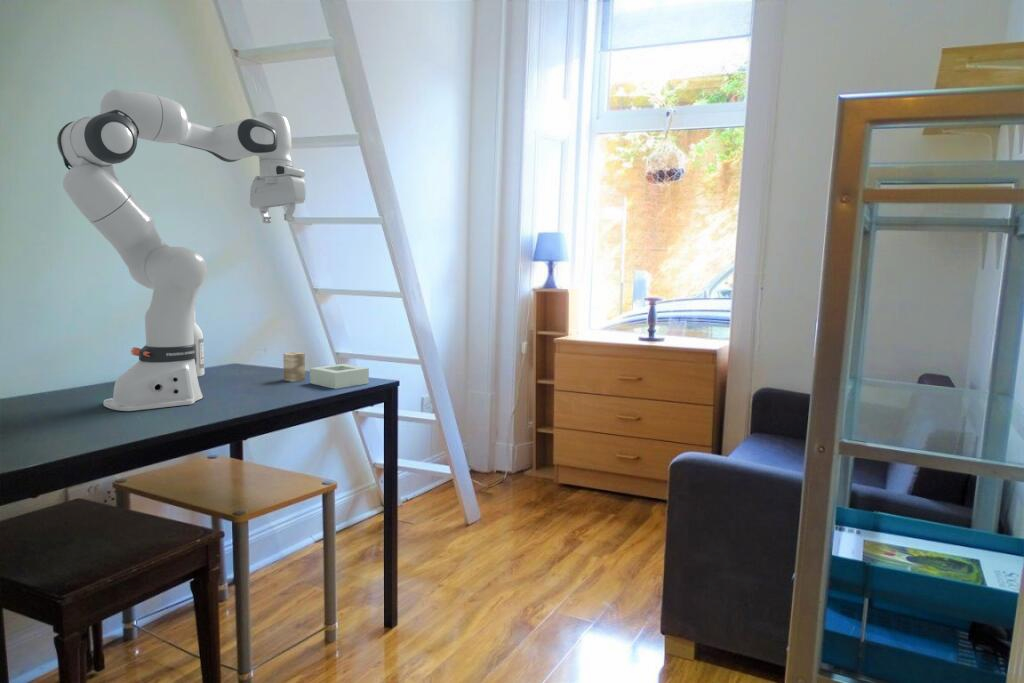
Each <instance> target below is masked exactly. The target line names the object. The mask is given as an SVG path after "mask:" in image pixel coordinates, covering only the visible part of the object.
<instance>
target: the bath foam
mask: <svg viewBox="0 0 1024 683" xmlns="http://www.w3.org/2000/svg"><path fill="white" fill-rule="evenodd" d="M193 325H194V344H196V354H197V361H196V372H197V378H199V377H203V376H205V349H204V348H205V347H204V346H205V345H204V344H205V343H204V334H203V331H202V329H201V328H200V326H199V325H198V324H197V322H196V310H194V317H193Z"/></svg>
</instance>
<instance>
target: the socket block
mask: <svg viewBox="0 0 1024 683" xmlns="http://www.w3.org/2000/svg"><path fill="white" fill-rule="evenodd" d="M369 370H370V369H369V368H368V367H363V366H358V365H352V364H348V363H347V364H346V363H341V364H340V363H338V364H332V365H324V366H315V367H311V368H310V367H309V380H310V382H309V383H310V384H312V385H316V386H321V387H326V388H330V389H335V390H336V389H343V388H348V387H354V386H356V387H357V386H361V385H367V384H370V378H369V377H370V372H369Z"/></svg>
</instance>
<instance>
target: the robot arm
mask: <svg viewBox="0 0 1024 683" xmlns="http://www.w3.org/2000/svg"><path fill="white" fill-rule="evenodd" d="M99 107H100V108H99V110H100V111H99V114H98V115H97V114H96V115H92V116H84V117H81V118H78V119H76V120H73V121H70V122H68V123H66V124H65V125H63V127H62V128H61V129H60V131H59V132H58V135H57V138H56V144H57V148H58V151H59V153H60V155H61V157H62V160H63V163H64V166H65V168H67V169H68V171H66V174H65V175H64V177H63V179H62V186H63V189H64V191H65V193H67V195H68V197H69V199H70V200H71V201H72V203H73V204H74V205H75V207H76V208H77V209H78V210H79V211H80V213H81V214H82V215H83V216H84V217H85V218H86V219H87V221H89V222H90V223H91V225H92V226H93V227H94V228H95V229H96V230H97V231H98V232H99V233H100V234H101V235H102V236H103V237H104V239H106V240H107V242H108V243H110V244H111V246H112V247H113V248H114V249H115V251H116V252H117V253H118V254H119V256H120V257H121V259H122V261H123V262H124V264H125V265H126V266H127V268H128V272H129V275H130V277H131V279H132V280H134V281H135V282H136V283H138V284H139V285H141V286H143V287H145V288H148V289H150V290H151V289H152V290H153V291H152V295H151V300H150V303H149V304H150V305H149V307H148V309H147V310H146V311H145V314H144V325H145V326H144V327H145V328H144V329H145V345H144V346H143V347H142V348H139V347H136V346H135V347H132V348H131V349H130V354H131V355H132V356H136V357H138V361H137V362H136V363H135V364H134V365H132V366H131V367H130V368H129V369H128V370H127V371H125V372H124V373H123V374H121V375H120V376H118V377H117V379H116V380H115V383H114V385H113V386H114V387H113V394H112V395H113V396H112V397H110V398H107V399H104V400H103V407H106V408H107V409H110V410H115V411H122V412H133V411H143V410H151V409H161V408H168V407H177V406H178V407H179V406H187V405H193V404H194V403H195V402H196V401H199V400H201V399H202V398H203V397H204V395H203V393H202V391H201V387H200V383H199V379H198V378H199V377H197V372H196V361H197V354H196V344H194V325H193V317H194V311H195V306H196V301H197V298H198V294H199V291H200V287H201V286H202V285H203V284H204V282H205V280H206V279H207V275H208V266H207V263H206V261H205V259H204V257H203V256H202V255H200V254H199V253H197V252H196V251H194V250H191V249H189V248H187V247H183V246H170V245H168V244H167V243H166V242H164V241H163V239H162V238H161V236H160V235H159V233H158V230H157V229H156V227H155V222H154V219H153V217H152V216H151V215H150V213H149V212H148V211H146V210H145V208H144V207H143V206H142V205H141V204H140V203H139V202H138V200H137V199H136V198H135V197H134V196H133V195H132V194H131V193H130V192H129V191H128V190H127V189H126V187H125V186H124V185H123V184H122V183H121V182H120V181H119V179H118V177H117V175H116V173H115V170H114V165H116V164H121V163H123V162H125V161H127V160H128V159H130V158H131V157H132V156H133V154H135V151H136V149H137V145H138V139H141V140H146V141H151V142H156V143H162V144H163V143H165V144H178V145H181V146H185V147H190V148H194V149H197V150H200V151H201V150H202V151H205V152H207V153H209V154H211V155H212V156H214V157H216V158H217V159H219V160H221V161H223V162H225V163H226V162H227V163H234V162H237V161H240V160H242V159H246V158H250V157H254V156H255V157H258V160H259V165H258V166H259V175H257V176H255V177H254V178H253V180H252V182H251V185H250V190H249V191H250V194H249V205H250V207H251V208H254V209H258V210H259V213H260V215H261V218H262V223H263V224H271V223H272V221H271V220H272V217H271V216H270V215H269V213H268V212H269V209H270V208H276V207H283V206H285V208H287V209H286V212H285V213H284V214H283V217H284V218H283V220H284V221H286V222H289V221H290V222H292V221H293V220H294V218H293V217H294V216H293V215H294V213H295V211H296V205H298V204H303V203H304V202H305V200H306V195H307V194H306V182H305V181H306V180H305V174H306V171H305V169H301V168H299V167H295V166H293V160H292V157H291V152H292V147H293V145H292V132H291V126H290V123H289V121H288V119H287V117H286V116H284V115H282V114H280V113H278V112H272V111H264V112H262V113H261V114H259V115H257V116H254V117H251V118H245V119H241V120H237V121H234V122H231V123H228V124H221V125H218V126H214V127H211V126H210V127H208V126H205V125H201V124H200V123H199V124H198V123H195V122H190V121H189V118H188V117H189V116H188V114H187V111H186V110H185V108H184V107H183V105H182V103H179V102H177V101H176V100H173V99H171V98H169V97H165V96H162V95H158V94H156V93H150V92H146V91H145V92H144V91H138V90H132V89H118V88H117V89H111V90H109V91H107V92H106V93H105V94H104V95H103V97H102V99H101V100H100V106H99Z"/></svg>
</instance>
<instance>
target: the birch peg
mask: <svg viewBox="0 0 1024 683" xmlns="http://www.w3.org/2000/svg"><path fill="white" fill-rule="evenodd" d="M305 357H306V355H305V353H303V352H297V351H295V352H286V353H283V381H287V382H292V383H293V382H294V383H295V382H300V381H301V382H302V381H306V358H305Z"/></svg>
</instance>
